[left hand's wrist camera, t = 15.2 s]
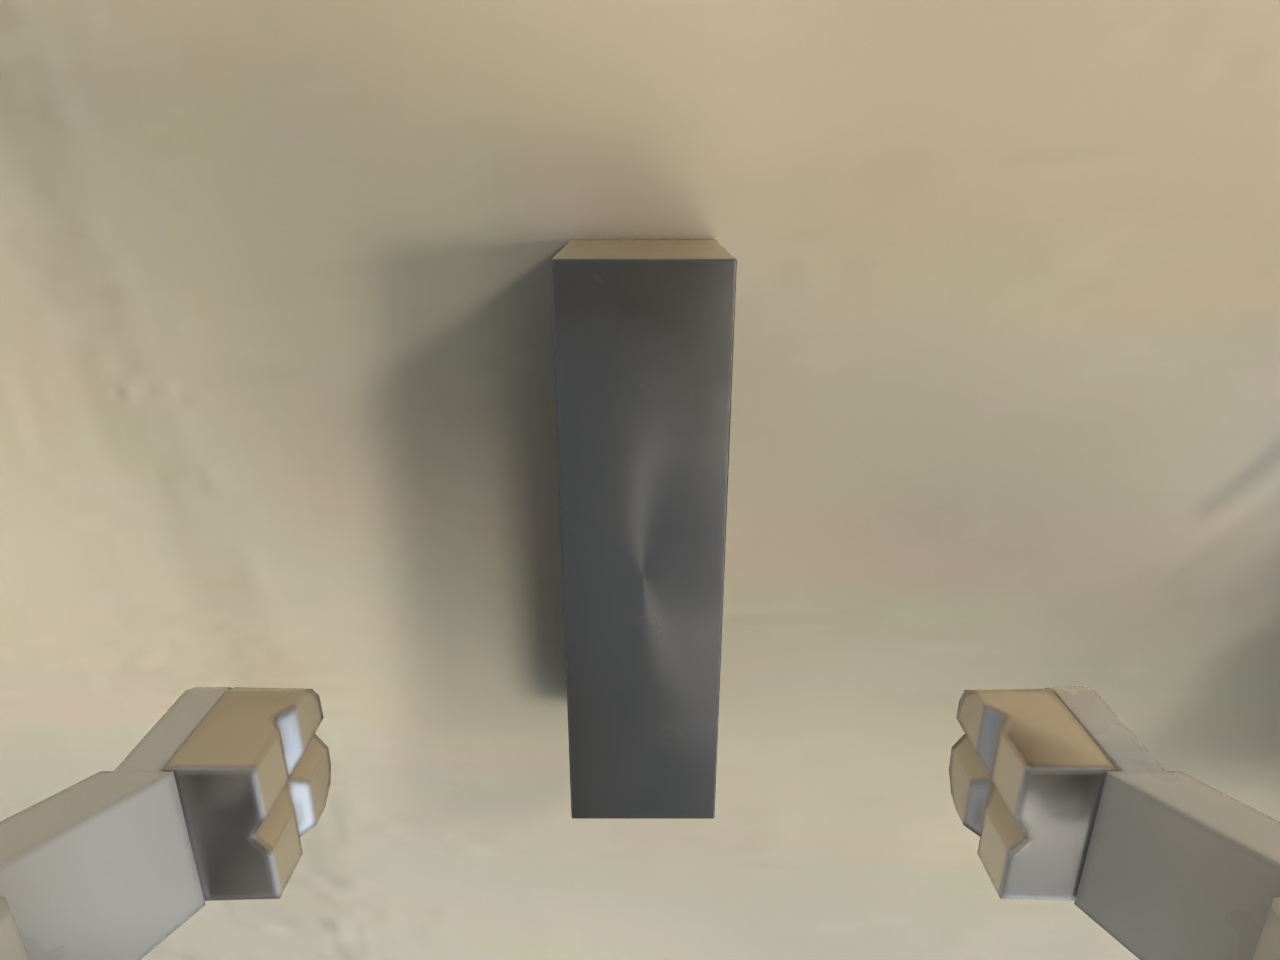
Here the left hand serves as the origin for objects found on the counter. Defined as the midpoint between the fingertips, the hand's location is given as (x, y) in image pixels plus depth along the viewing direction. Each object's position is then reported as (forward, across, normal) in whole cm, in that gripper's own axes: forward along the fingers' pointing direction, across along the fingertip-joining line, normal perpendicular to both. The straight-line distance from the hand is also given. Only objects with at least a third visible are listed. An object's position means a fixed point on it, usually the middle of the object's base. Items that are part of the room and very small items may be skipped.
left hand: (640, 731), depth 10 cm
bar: (+26, 0, -7) cm, 27 cm away
